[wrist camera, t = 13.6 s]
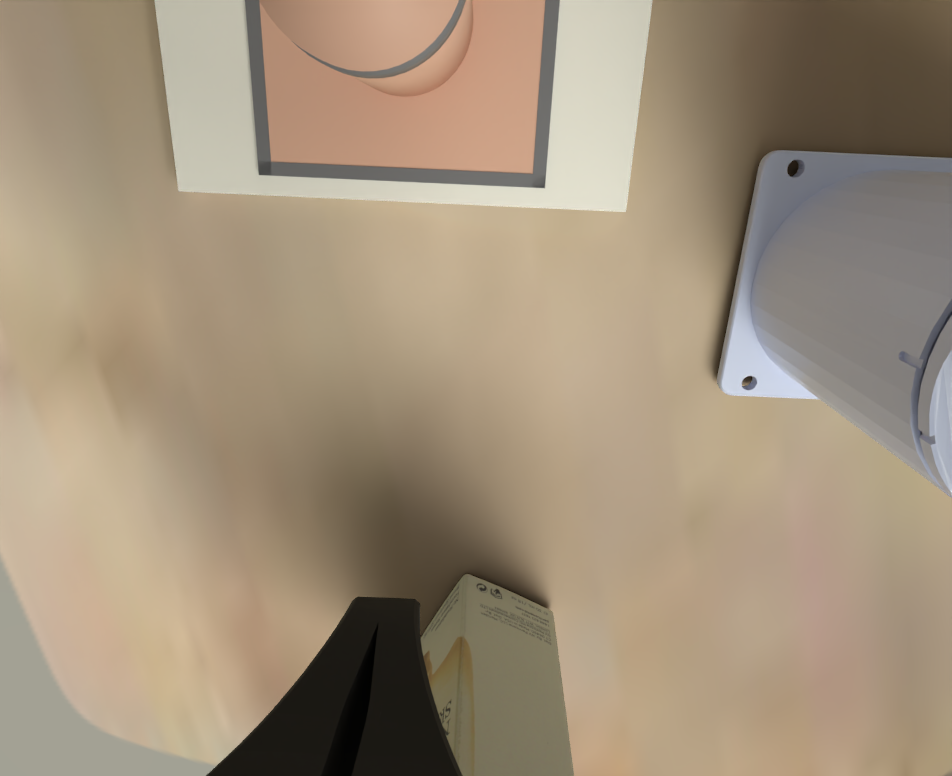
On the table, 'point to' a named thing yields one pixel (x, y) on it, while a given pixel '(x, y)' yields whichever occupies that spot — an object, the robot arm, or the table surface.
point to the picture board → (411, 110)
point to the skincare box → (498, 682)
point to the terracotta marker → (381, 38)
